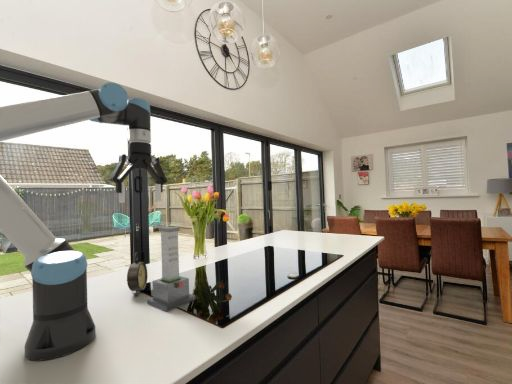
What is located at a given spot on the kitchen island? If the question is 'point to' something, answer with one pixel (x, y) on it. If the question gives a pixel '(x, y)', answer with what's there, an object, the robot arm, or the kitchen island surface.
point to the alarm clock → (137, 276)
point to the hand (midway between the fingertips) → (141, 202)
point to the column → (170, 254)
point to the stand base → (170, 294)
